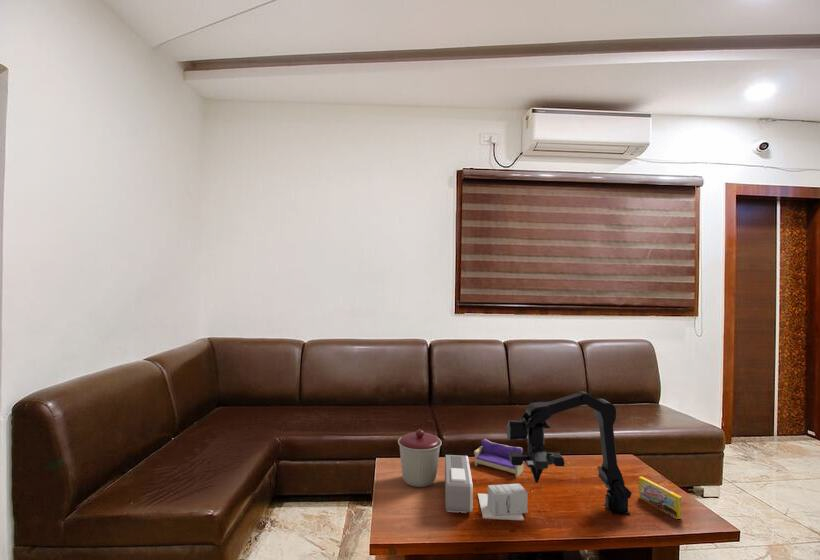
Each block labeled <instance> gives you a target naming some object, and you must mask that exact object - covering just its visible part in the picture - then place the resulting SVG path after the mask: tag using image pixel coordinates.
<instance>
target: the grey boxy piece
mask: <svg viewBox="0 0 820 560" xmlns="http://www.w3.org/2000/svg"><path fill="white" fill-rule="evenodd" d="M473 492H474V486H473V480H472V473H471V466H470V460H469V456H468V455H458V454H457V455H455V454H445V456H444V494H445V501H444V502H445V510H446V511H447V513H459V512H461V513H462V514H463V513H464V514H467V513H468V512H469V513H472V512H473V511H474V510H473V504H474V503H473V500H474V493H473Z"/></svg>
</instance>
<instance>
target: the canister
mask: <svg viewBox="0 0 820 560" xmlns="http://www.w3.org/2000/svg"><path fill="white" fill-rule="evenodd" d="M397 443H398V445H399V454H400V455H399V456H400V465H401V473H402V474H401V475H402V478H403V481H404V482H405V484H407V485H408V486H412V487H415V488H424V487H428V486H431V485H432V484H433V483H434V482H435V481H436V478H437V472H438V466H439V465H438V463H439V457H440V450H441V447H442V445H443V444H442V439H440V438H439V437H437V436H436V435H434V434H432V433H429V432H424V430H423V429H417V430H415V432H413V431H412V432H409V433H405V434H404V435H402V436H400V437H399V438H398V439H397Z"/></svg>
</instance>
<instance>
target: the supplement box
mask: <svg viewBox="0 0 820 560" xmlns="http://www.w3.org/2000/svg"><path fill="white" fill-rule="evenodd" d="M487 494H488V502H487V505H488V507H489V508H490V510H491V511H492V513H493V514H494V515H505V514H519V513H522V514H528V495H529V493H528V491H527V490H526V489H525V488H524V487H523V486H522V485H521V483H508V484H507V483H505V484H490V485H489V484H488V485H487Z"/></svg>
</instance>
